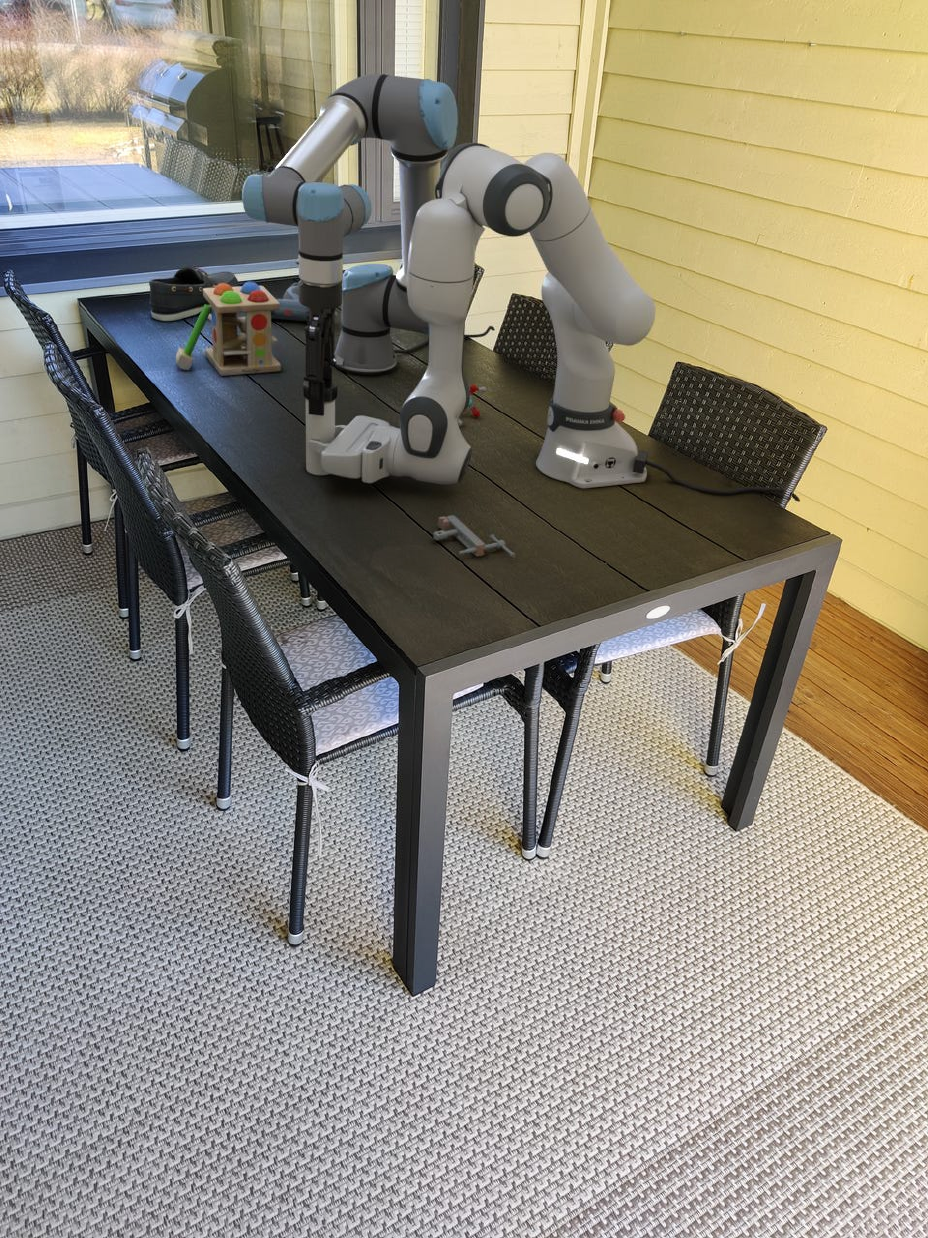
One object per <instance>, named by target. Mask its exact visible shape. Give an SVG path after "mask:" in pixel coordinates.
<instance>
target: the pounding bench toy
mask: <svg viewBox="0 0 928 1238" xmlns="http://www.w3.org/2000/svg"><path fill="white" fill-rule="evenodd" d="M203 296H204V297H205V299H206V300H207V301H208V302H209V304H210V305H211V307H210V306H208V305H204V307H203V309H202V311H201V312H200V313H199V316H198V318H197V320H196V322H195V324H194V327H193V329H192V331H191V332H190V333H191V334H190V336H189V338H188V340H187V343H186V344H185V347H184V348H182V347H180V346H179V347H178V349H177V351H176V354H175V357H174V358H175V362H176V365H177V366H178V368H179V369H182V370H185V371H189V370H190V369H191V367H192V365H193V363H194V356H193V351H194V348H195V347H196V345H197V342H198V340H199V337H200V336H201V333H202V332H203V329H204V326H205V325H206V322H207V320H209V321H210V322H211V336H212V337H211V338H212V339H211V340H212V348H205V349H204V352H205V353H204V355H205V357H206V359H208V361H209V363H210V364H211V365H212V366H213V367H214V369H215V370H216V371H217V372H218V374H219V375H220V376H222V377H223V376H234V375H235V376H236V375H246V374H247V375H250V374H262V373H275V372H281V370H282V364H281V363H280V362H279V360H278V359H277V358H276V357H275V356H274V355H273V348H272V347H273V345H272V344H276V343H278V342H279V341H278V339H277V338H276V337H275V336H274V334H272V318H271V310H280V303H279V302H278V301H277V300H276V299H277V298H276V297H274V296H273V295H272V294H271V293H270V292H269V290H268V289H267V288H266V287H264V285H259V284H257V283H256V282H255V281H247V282H245V283H244V284H243V285H242V286H239V287H231V286H230V285H228V284H226V283H221V284H218V285H217V286H216V287H215V288H204V289H203ZM238 313H244V314H245V315H244V316H238ZM238 329H239V331H240V333H239V334H238Z"/></svg>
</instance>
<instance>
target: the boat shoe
mask: <svg viewBox="0 0 928 1238" xmlns="http://www.w3.org/2000/svg"><path fill="white" fill-rule="evenodd" d="M221 283H226V284H228V285H230V286H231V287H240V285H239V280H238V278H237V277H236V275H235V274H234V273H233V272H231V271H220V272H213V273H210V274H208V273H207V272H206V271H205V270H204V269H202V268H199V267H195V266H191V265H186V266H185V265H184V266H183V267H181V268H179V269H178V270H177V271H176V272H175V273H174V274H173V277H172V276H171V277H167V278H166V277H165V278H152V279H150V280H149V281H148V285H149V291H150V292H149V302H148V306H151V309H150V313H151V317H152V318H153V319H155V320H157V321H162V322H171V321H172V322H173V321H178V320H182V319H184V318H188V317H192V316H196V315H197V314H200V313H201V311H202V309H203V307H204V305H208V306H210V307H211V305H210V304H209V302H208V301H207V300H206V299H205V297H204V296H203V289H204V288H215V287H216V286H217V285H218V284H221Z"/></svg>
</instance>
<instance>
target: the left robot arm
mask: <svg viewBox="0 0 928 1238" xmlns="http://www.w3.org/2000/svg"><path fill="white" fill-rule="evenodd" d="M458 116H459V114H458V107H457V101H456V98H455V95H454V92H453V91H452V89H451V87H450V86H449V85H447V84H446V83H444V82H440V81H434V80H432V79H430V78H416V77H408V76H400V75H391V74H384V73H369V74H364V75H361V76H359V77H356V78H354V79H352V80H350V81H348V82H346V83H344V84H343V85H341V86H340V87H338V88H336V90H334V91H333V92H332V93H331V94H330V95H329V96H328V97H327V98H325V100H324V102H323V103H322V104H321V107H320V110H319V116H318V117H317V118H316V120H315V121H314V122H313V123H312V124H311V126H309V128H308V129H307V130H306V131H305V133H304V134H302V136H301V137H300V138H299V140H298V141H297V142H296V143H295V145H293V146H292V147H291V148H290V150H289V151H288V153H286V155H285V156H284V157H283V158H282V160H281V161H280V162H279V163H278V164H277V165H276V167H275V168H274V169H273V170H272V171H271V172H270V173H269V175H265V174H263V173H261V174H250V175H249V176H247V178H246V179H245V181H244V183H243V186H242V191H241V193H242V194H241V202H242V205H243V210H244V212H245V214H246V215H247V216H248V217H249V218H250V219H253V220H256V221H257V220H258V221H262V222H265V223H267V224H269V223H270V224H271V223H272V224H277V225H278V224H279V225H285V226H290V227H297V233H298V234H297V235H298V254H297V255H298V258H296V259H295V264H296V265H297V266H298V279H300V281H298V283H299V302H300V303H301V304H302V305H303V306H306V307H308V308H309V309H310V311H311V312H310V316H309V315H308V317H307V321H306V325H305V326H304V333H305V335H304V336H305V376H304V377H303V381H304V382H305V381H309V414H312V415H320V416H323V415H324V380H323V378H326V379H330V380H333V367H334V368H337V369H338V370H339V371H342V372H344V373H347V374H352V375H356V376H380V375H381V376H382V375H386V374H389V373H391V372H393V371H395V369H396V368H397V361H398V360H397V354H408V353H409V354H410V353H412V352H414V351H416V350H419V349H420V348H422V347H424V346H426V345H427V344H429V338H428V339H425V340H424V341H423V342H421V343H419V344H416V345H415V346H413V347H411V348H408V349H395V347H394V343H393V341H392V337H391V336H392V335H391V328H392V329H397V330H403V331H408V332H414V333H420V334H423V335H430V329H429V323H428V322H425V321H423V320H421V319H420V318H418V317H417V316H416V315H415V314H414V313H413V312H412V310H411V309H410V307H409V303H408V296H407V264H408V254H409V246H410V240H411V235H412V230H413V226H414V222H415V218H416V215H417V212H418V210H419V209H420V208H421V206H422V205H424V204H425V203H427V202H429V201H431V200H435V199H436V197H435V186H436V184H437V182H438V180H439V174H440V170H441V162H442V160H444V159H445V158H446V157H447V155H448V149H451V148H452V147H453V146H454V144H455V142H456V139H457V136H458V135H457V134H458V130H457V129H458V125H459V117H458ZM363 139H378V140H382V141H389V142H390V153H391V156H392V157H393V158H394V159H395V160H396V161H398V172H399V173H398V174H399V175H398V176H399V203H400V230H401V231H400V232H401V234H400V235H401V258H402V259H401V260H402V267H401V268H400V269H398V271H397V272H396V274H394V273H395V272H394V269H393V267H392V266H391V265H388V264H385V263H384V264H383V263H366V264H358V265H354V266H351V267H349V268H346V270H345V271H344V254H343V253H344V238H345V237H347V236H348V235H350V234H353V233H355V232H356V233H357V232H358V231H359V230H362V228H363V227H364V226H365V225H367V223H368V222H369V220H370V218H371V216H372V211H373V208H372V207H373V206H372V201H371V198H370V196H369V194H368V193H367V191H366V190H365V189H364V188H362V187H361V186H359V185H356V184H353V183H351V184H343V185H342V184H341V185H340V186H339V185H337V184H334V183H331V182H330V183H329V182H322V181H323V180H324V179H325V177H326V176H327V175H328V174H329V173H330V171H331V170H332V169H333V167H334V166H335V165H336V164H337V162H338V161H339V160H340V159H341V158H342V156H343V155H344V153H345V152H346V151H347V150H348V149H349V147H351V146H355V145H358V144H359V143H360V142H361V141H362V140H363ZM437 196H438V197H439V192H438V190H437ZM340 306H341V313H340V314H341V316H340V317H341V319H340V321H341V324H340V325H341V326H340V329H341V330H340V336H339V338H338V341H337V344H336V345H335V343H336V341H335V319H336V317H335V310H336V308H339V307H340ZM490 331H494V332H495V327H494V326H493V325H488V327H487V329H486V330H485V331H484V332H482V333H477V334H476V333H475V334H464V339H466V338H467V339H469V338H470V339H473V338H483V337H486V336H487V335H488V334H489V333H490ZM335 347H336V348H335Z"/></svg>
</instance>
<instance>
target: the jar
mask: <svg viewBox="0 0 928 1238" xmlns="http://www.w3.org/2000/svg"><path fill="white" fill-rule="evenodd" d="M335 426H336V399H335V400H333V401H330V402H324V415H323V416H320V415H312V414H309V400H307V399H306V398H305V468H306V471H307V472H308V473H309V474H310V475H311V474H312V475H315V476H327V475H331V474H330V473H327V472H325V471H324V470H323V469H322V468H321V454H320V453H318V452H317V451H313V450H309V449H308V442H309V441H310V440H311V439H312V438H313V439H319V440H320V442H321V443H323V444H326V443H329V444H330V443H331V442H332V441H333V440H334V439H335V438H336V436H335Z"/></svg>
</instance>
